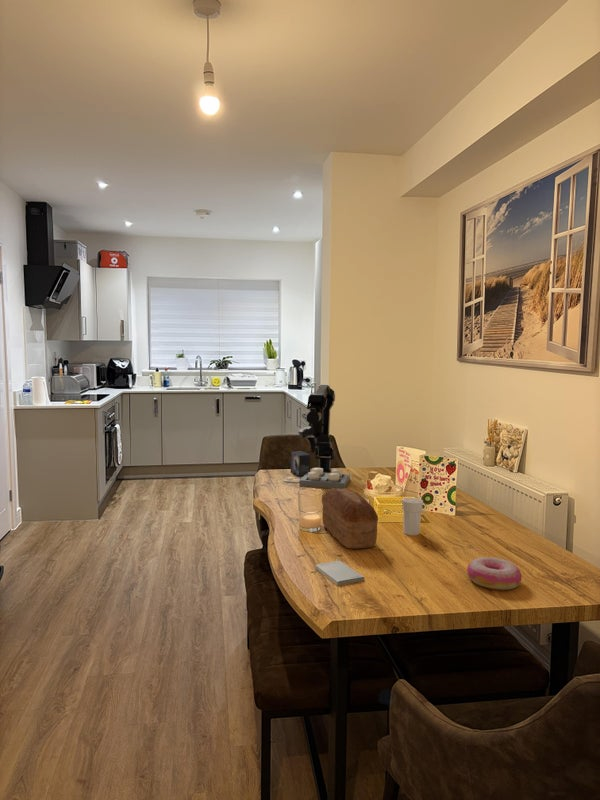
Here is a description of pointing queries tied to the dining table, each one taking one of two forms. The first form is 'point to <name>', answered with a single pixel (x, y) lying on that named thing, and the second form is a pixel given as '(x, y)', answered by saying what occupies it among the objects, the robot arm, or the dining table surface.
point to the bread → (350, 518)
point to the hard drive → (339, 572)
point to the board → (320, 481)
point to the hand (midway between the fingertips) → (316, 454)
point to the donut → (494, 573)
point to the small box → (300, 463)
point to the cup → (412, 515)
